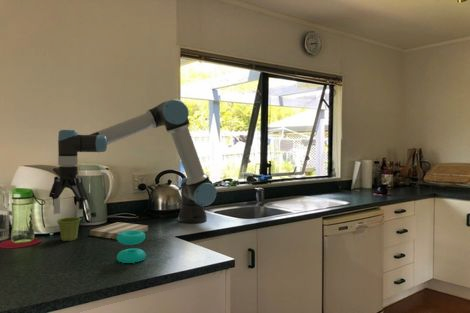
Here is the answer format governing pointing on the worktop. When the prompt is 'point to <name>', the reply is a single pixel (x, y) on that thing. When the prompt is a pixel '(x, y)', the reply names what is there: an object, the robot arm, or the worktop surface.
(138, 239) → the donuts
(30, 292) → the worktop surface
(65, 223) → the plant pot
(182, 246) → the worktop surface
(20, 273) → the worktop surface
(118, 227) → the striped wooden cutting board
